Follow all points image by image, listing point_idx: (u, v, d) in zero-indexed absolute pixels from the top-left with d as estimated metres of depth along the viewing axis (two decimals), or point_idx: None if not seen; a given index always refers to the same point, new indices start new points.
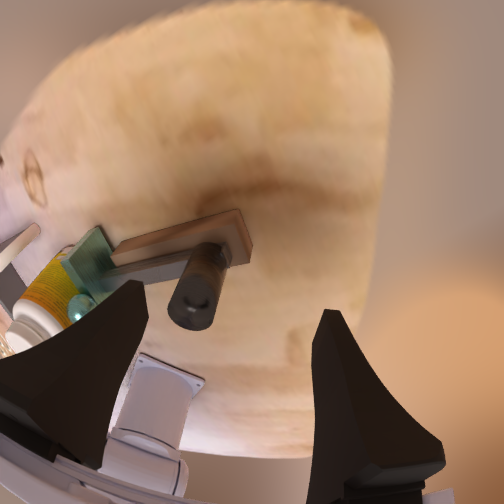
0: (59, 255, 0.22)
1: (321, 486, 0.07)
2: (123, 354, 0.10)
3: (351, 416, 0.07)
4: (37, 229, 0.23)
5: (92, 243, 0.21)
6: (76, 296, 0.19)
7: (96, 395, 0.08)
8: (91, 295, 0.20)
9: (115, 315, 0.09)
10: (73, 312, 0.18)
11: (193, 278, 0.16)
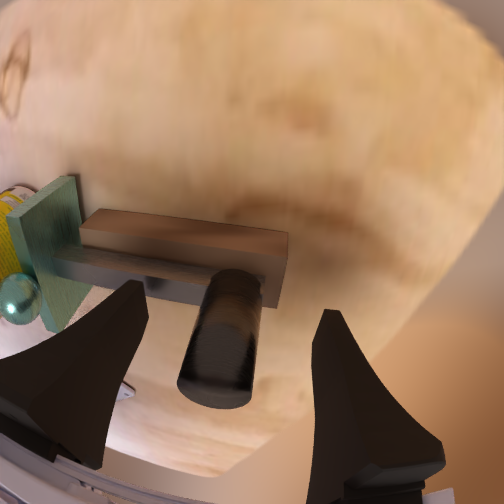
0: (7, 194, 0.13)
1: (320, 486, 0.07)
2: (123, 354, 0.10)
3: (351, 416, 0.07)
4: None
5: (59, 199, 0.13)
6: (16, 277, 0.10)
7: (96, 395, 0.08)
8: (37, 279, 0.12)
9: (115, 315, 0.09)
10: (7, 303, 0.10)
11: (233, 338, 0.10)
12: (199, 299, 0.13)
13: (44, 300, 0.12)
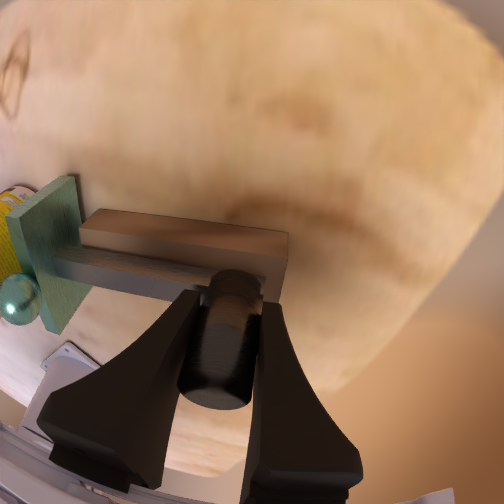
0: (6, 194, 0.13)
1: (245, 482, 0.07)
2: None
3: (260, 410, 0.07)
4: None
5: (59, 199, 0.13)
6: (15, 277, 0.10)
7: (162, 414, 0.08)
8: (37, 279, 0.12)
9: (180, 329, 0.09)
10: (6, 304, 0.10)
11: (233, 339, 0.10)
12: None
13: (44, 300, 0.12)
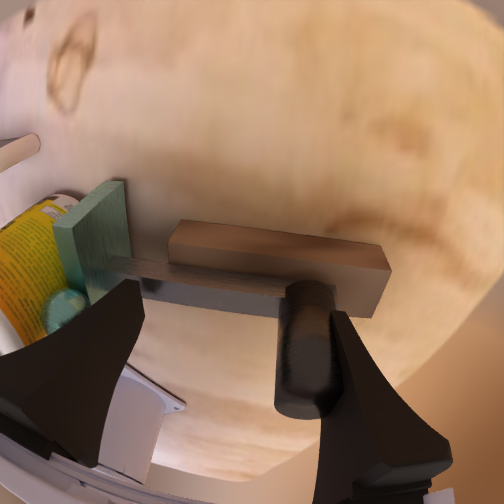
0: (48, 204, 0.13)
1: (327, 486, 0.07)
2: (119, 353, 0.10)
3: (359, 416, 0.07)
4: (35, 146, 0.13)
5: (109, 207, 0.12)
6: (66, 295, 0.10)
7: (91, 393, 0.08)
8: (88, 295, 0.11)
9: (110, 314, 0.09)
10: (58, 325, 0.09)
11: (329, 350, 0.09)
12: (272, 311, 0.13)
13: None
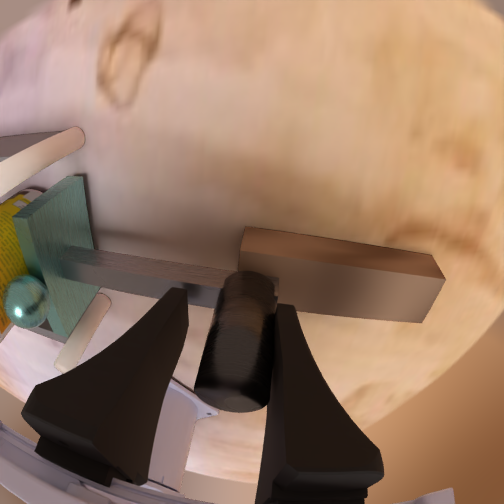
0: (20, 198, 0.13)
1: (263, 483, 0.07)
2: (168, 365, 0.10)
3: (282, 413, 0.07)
4: (80, 141, 0.13)
5: (67, 200, 0.13)
6: (23, 280, 0.10)
7: (147, 410, 0.08)
8: (45, 281, 0.12)
9: (165, 326, 0.09)
10: (14, 307, 0.10)
11: (251, 341, 0.09)
12: (212, 301, 0.13)
13: (51, 302, 0.12)
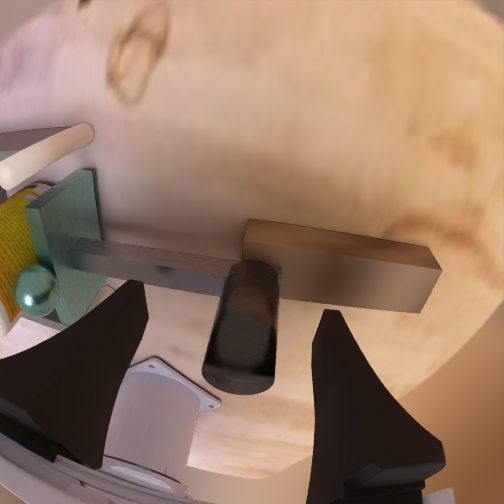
0: (29, 192, 0.14)
1: (320, 485, 0.07)
2: (123, 354, 0.10)
3: (351, 416, 0.07)
4: (90, 136, 0.13)
5: (77, 192, 0.13)
6: (34, 269, 0.11)
7: (96, 395, 0.08)
8: (54, 271, 0.12)
9: (115, 315, 0.09)
10: (25, 295, 0.10)
11: (256, 324, 0.10)
12: (218, 290, 0.13)
13: (60, 292, 0.13)
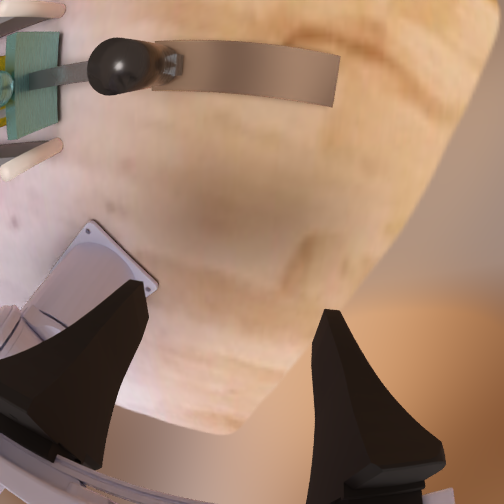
0: None
1: (321, 485, 0.07)
2: (123, 354, 0.10)
3: (351, 416, 0.07)
4: (62, 9, 0.13)
5: (45, 39, 0.13)
6: (0, 70, 0.10)
7: (96, 395, 0.08)
8: (14, 80, 0.12)
9: (115, 315, 0.09)
10: None
11: (137, 40, 0.10)
12: None
13: (13, 101, 0.12)
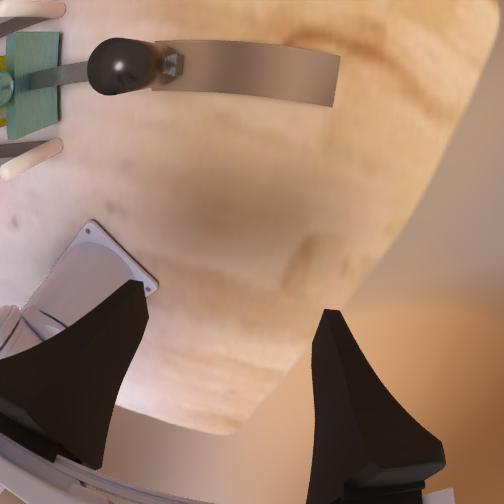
0: None
1: (321, 485, 0.07)
2: (123, 354, 0.10)
3: (351, 416, 0.07)
4: (62, 9, 0.13)
5: (45, 39, 0.13)
6: (0, 70, 0.10)
7: (96, 395, 0.08)
8: (14, 80, 0.12)
9: (115, 315, 0.09)
10: None
11: (137, 40, 0.10)
12: None
13: (13, 101, 0.12)
